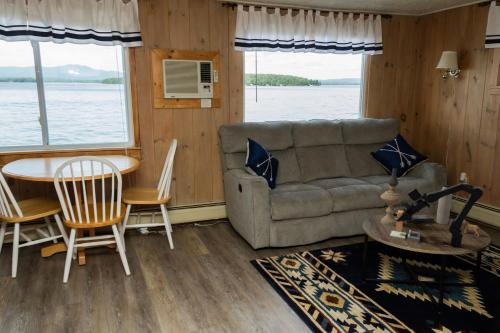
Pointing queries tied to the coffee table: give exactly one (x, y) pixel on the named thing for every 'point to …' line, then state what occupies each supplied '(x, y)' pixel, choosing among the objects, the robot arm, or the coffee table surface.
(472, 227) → the lion figurine
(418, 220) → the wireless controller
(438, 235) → the coffee table surface
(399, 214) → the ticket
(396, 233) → the mat
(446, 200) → the thermos bottle
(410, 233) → the dispenser
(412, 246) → the coffee table surface
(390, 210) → the wooden candle holder
